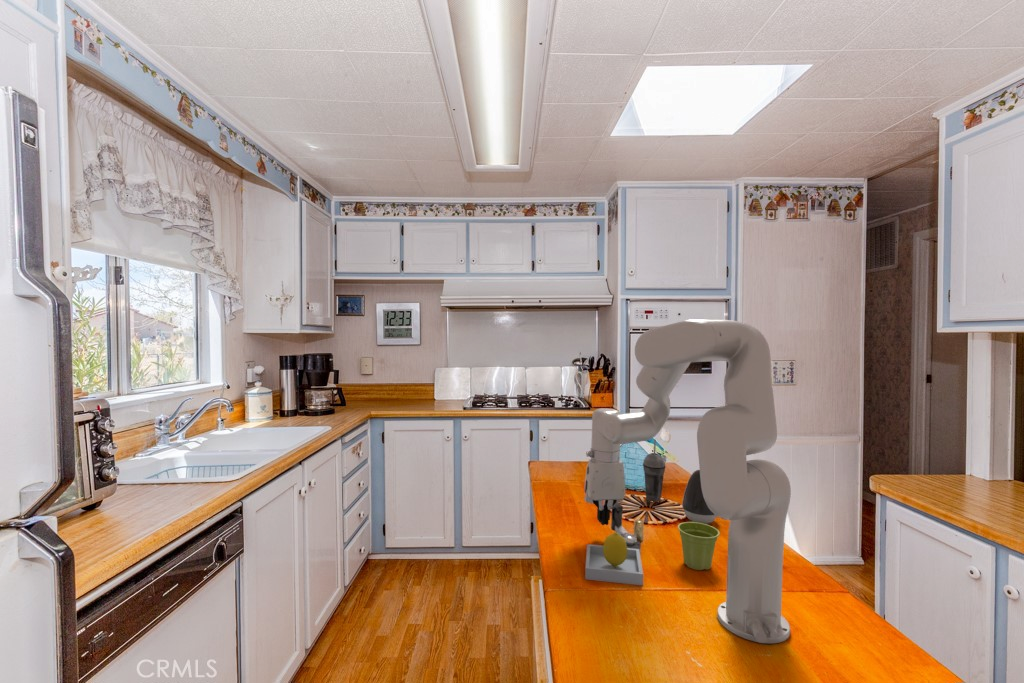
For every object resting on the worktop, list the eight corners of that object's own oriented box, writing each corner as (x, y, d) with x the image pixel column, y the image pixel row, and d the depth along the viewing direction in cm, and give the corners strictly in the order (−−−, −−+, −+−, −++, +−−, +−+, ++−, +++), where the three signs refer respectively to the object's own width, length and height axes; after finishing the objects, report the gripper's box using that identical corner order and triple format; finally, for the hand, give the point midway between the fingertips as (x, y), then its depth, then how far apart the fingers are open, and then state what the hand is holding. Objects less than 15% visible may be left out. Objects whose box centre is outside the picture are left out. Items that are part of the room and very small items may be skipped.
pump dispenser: (683, 525, 142) (685, 473, 142) (680, 512, 153) (681, 463, 152) (721, 529, 140) (723, 476, 140) (715, 516, 150) (717, 466, 150)
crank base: (646, 557, 122) (646, 537, 122) (616, 554, 123) (617, 535, 123) (642, 538, 133) (643, 519, 133) (615, 535, 135) (615, 517, 135)
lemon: (599, 568, 115) (600, 534, 114) (606, 559, 119) (607, 526, 119) (623, 574, 112) (624, 540, 112) (629, 564, 117) (630, 531, 117)
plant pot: (681, 552, 125) (682, 518, 125) (721, 562, 120) (722, 527, 120) (672, 567, 117) (673, 531, 117) (715, 578, 112) (716, 540, 112)
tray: (642, 585, 109) (643, 574, 109) (585, 579, 111) (585, 568, 111) (638, 559, 121) (639, 549, 121) (586, 554, 123) (587, 544, 123)
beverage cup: (641, 502, 161) (643, 441, 160) (642, 495, 168) (643, 436, 167) (664, 505, 159) (666, 443, 158) (664, 497, 166) (666, 438, 165)
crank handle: (639, 544, 124) (640, 517, 124) (624, 545, 123) (625, 518, 123) (620, 525, 136) (620, 500, 136) (606, 526, 135) (606, 501, 135)
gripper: (583, 460, 127) (581, 530, 127) (637, 458, 130) (635, 527, 130) (574, 452, 134) (572, 519, 135) (625, 450, 137) (623, 516, 138)
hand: (603, 522), depth 133 cm, fingers closed
